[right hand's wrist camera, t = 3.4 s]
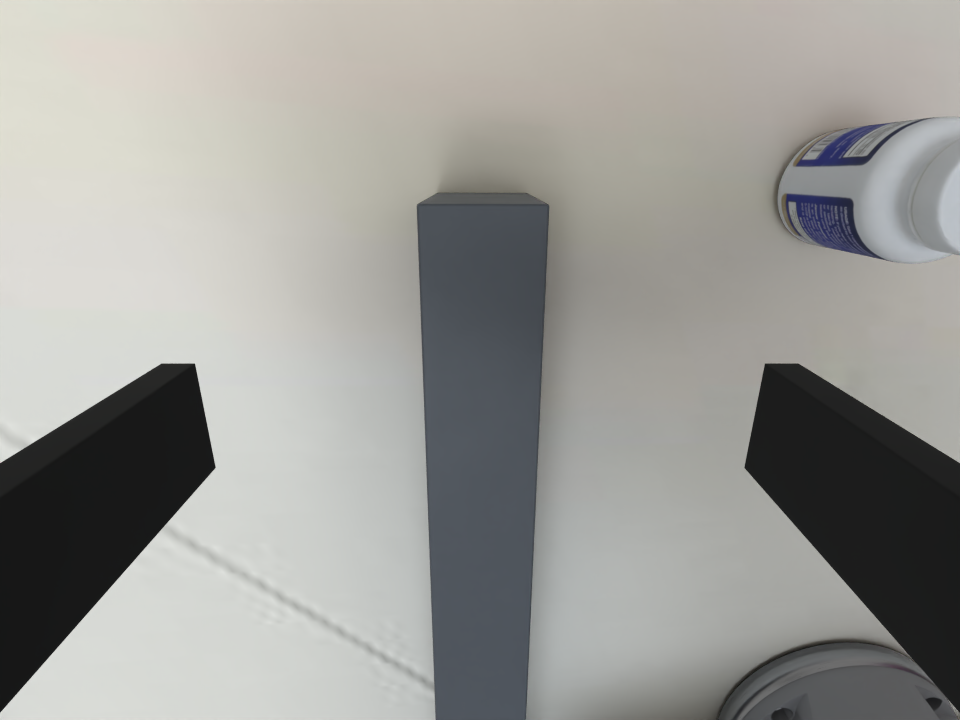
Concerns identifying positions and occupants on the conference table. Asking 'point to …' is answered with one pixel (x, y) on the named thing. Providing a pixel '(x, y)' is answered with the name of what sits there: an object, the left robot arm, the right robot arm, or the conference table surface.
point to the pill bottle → (878, 190)
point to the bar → (481, 440)
